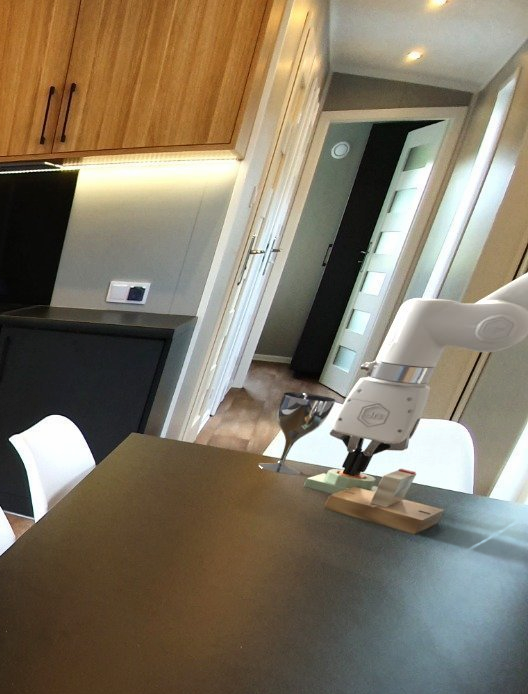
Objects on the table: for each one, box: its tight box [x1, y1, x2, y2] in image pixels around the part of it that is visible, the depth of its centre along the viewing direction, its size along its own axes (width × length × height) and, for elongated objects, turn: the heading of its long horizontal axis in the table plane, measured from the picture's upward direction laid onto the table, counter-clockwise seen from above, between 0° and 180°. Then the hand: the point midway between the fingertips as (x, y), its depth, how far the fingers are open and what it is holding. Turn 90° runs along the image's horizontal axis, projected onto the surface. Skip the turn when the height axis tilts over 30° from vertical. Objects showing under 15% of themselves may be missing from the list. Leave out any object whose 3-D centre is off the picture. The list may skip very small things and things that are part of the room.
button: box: [339, 471, 365, 479], centre depth 118 cm, size 4×4×2 cm
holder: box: [370, 468, 417, 507], centre depth 107 cm, size 7×2×5 cm, turn 120°
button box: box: [303, 468, 378, 495], centre depth 118 cm, size 10×7×4 cm
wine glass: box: [257, 391, 337, 475], centre depth 128 cm, size 8×8×15 cm
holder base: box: [323, 487, 445, 535], centre depth 108 cm, size 12×11×3 cm
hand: (351, 473), depth 118 cm, fingers closed
